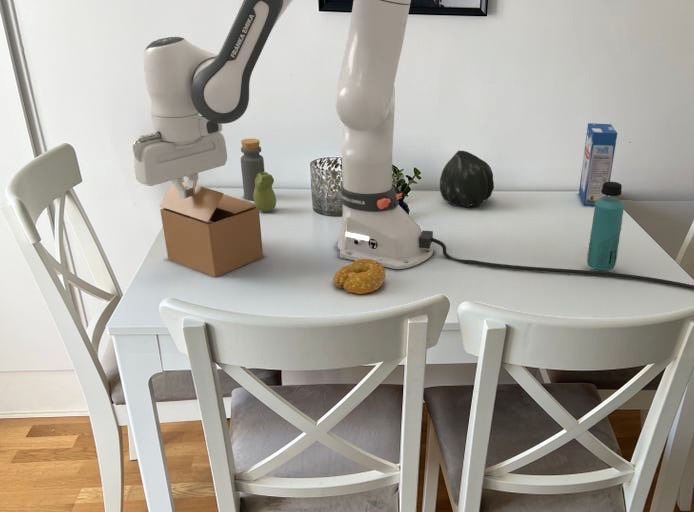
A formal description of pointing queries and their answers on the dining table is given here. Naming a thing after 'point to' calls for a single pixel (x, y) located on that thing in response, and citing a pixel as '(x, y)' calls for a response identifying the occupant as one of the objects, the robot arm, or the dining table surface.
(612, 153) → the milk carton
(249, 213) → the carton
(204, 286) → the dining table surface
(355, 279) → the bagel
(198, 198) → the flap
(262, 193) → the pear
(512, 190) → the dining table surface
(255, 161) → the bottle
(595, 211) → the beverage bottle
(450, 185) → the squash
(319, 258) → the dining table surface
